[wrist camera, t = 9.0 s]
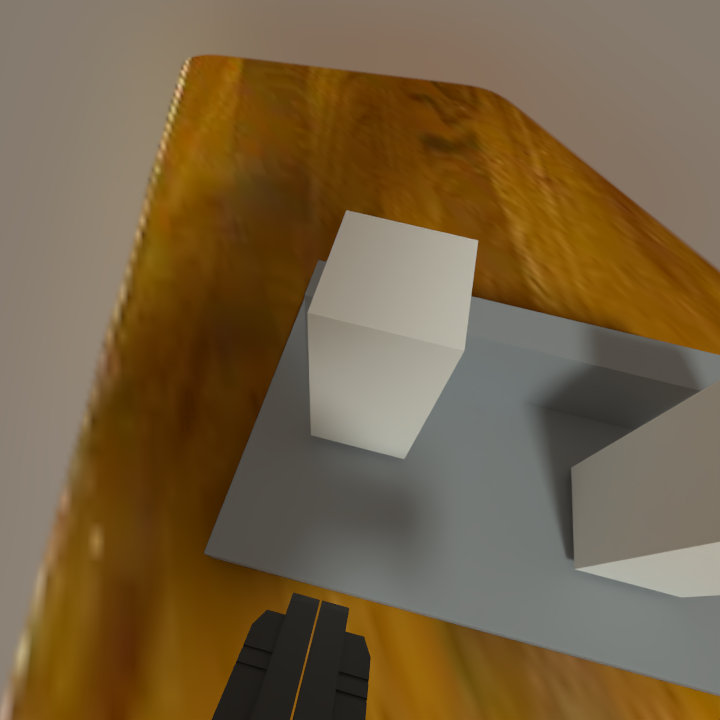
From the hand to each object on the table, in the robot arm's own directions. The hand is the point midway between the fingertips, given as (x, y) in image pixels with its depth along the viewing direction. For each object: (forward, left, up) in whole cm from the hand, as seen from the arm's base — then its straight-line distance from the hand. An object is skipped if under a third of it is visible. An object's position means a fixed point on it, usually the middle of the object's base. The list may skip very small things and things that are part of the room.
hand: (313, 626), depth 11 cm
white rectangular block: (-5, -12, -4) cm, 13 cm away
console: (+1, -9, -6) cm, 11 cm away
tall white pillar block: (+5, -6, -4) cm, 9 cm away
